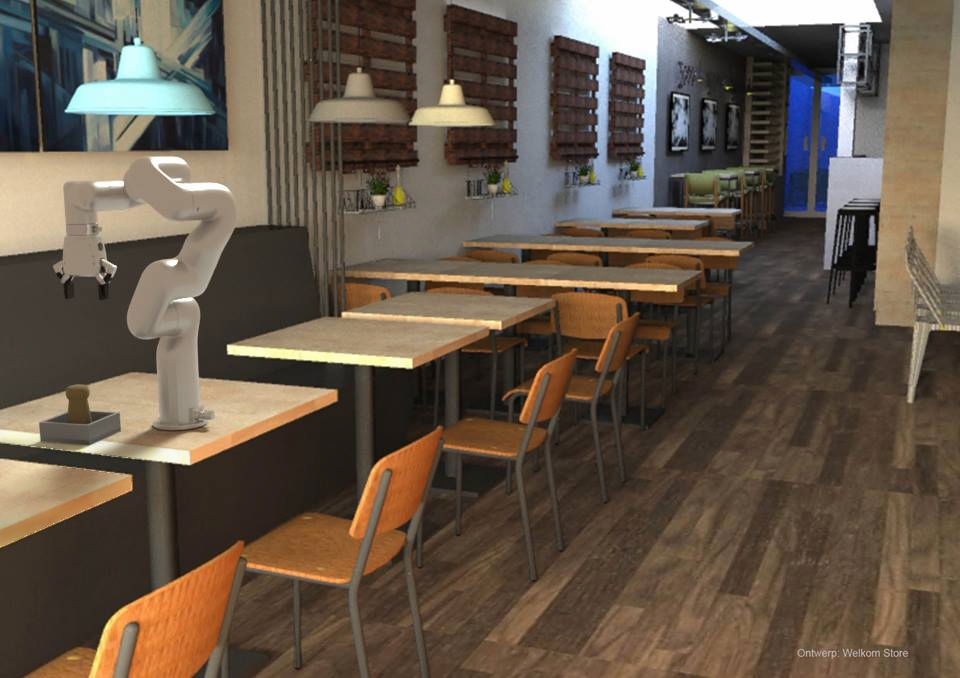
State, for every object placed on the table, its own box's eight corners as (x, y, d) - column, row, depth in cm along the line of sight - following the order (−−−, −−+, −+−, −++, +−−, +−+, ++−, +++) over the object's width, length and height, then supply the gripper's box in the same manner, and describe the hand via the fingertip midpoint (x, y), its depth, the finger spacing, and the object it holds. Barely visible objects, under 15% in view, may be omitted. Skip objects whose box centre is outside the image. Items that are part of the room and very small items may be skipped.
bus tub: (120, 430, 254) (119, 412, 253) (89, 445, 242) (88, 425, 241) (73, 427, 257) (72, 409, 256) (40, 441, 245) (39, 422, 244)
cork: (64, 435, 246) (61, 388, 244) (68, 429, 252) (64, 383, 250) (92, 434, 247) (89, 387, 245) (95, 427, 253) (92, 381, 251)
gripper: (121, 230, 270) (125, 298, 273) (60, 229, 274) (65, 296, 277) (104, 232, 263) (108, 302, 266) (42, 231, 267) (47, 299, 270)
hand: (86, 298), depth 271 cm, fingers open, 9 cm apart
